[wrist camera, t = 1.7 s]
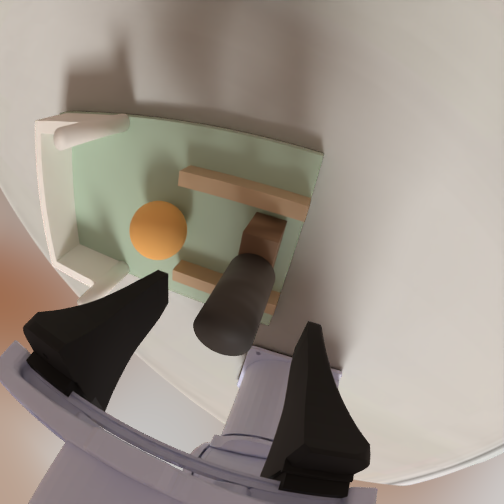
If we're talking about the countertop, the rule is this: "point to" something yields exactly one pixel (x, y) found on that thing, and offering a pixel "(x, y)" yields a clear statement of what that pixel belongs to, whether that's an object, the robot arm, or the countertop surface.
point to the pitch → (164, 196)
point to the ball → (158, 230)
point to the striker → (242, 290)
